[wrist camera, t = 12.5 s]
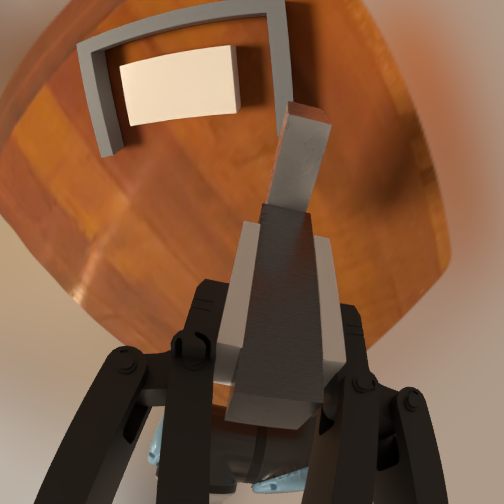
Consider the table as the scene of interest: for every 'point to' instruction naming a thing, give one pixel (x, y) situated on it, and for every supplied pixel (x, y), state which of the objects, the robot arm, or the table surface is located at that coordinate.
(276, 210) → the grey inverted t block
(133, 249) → the table surface
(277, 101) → the frame
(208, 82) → the cream tile
